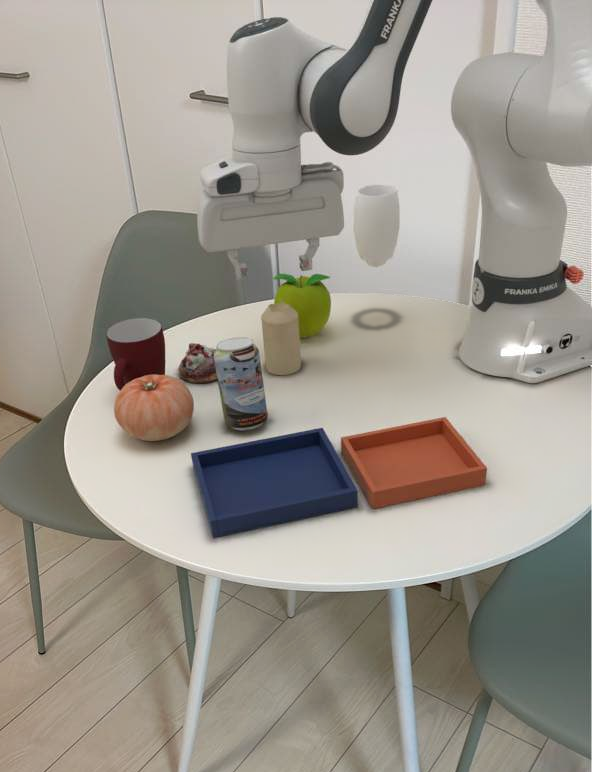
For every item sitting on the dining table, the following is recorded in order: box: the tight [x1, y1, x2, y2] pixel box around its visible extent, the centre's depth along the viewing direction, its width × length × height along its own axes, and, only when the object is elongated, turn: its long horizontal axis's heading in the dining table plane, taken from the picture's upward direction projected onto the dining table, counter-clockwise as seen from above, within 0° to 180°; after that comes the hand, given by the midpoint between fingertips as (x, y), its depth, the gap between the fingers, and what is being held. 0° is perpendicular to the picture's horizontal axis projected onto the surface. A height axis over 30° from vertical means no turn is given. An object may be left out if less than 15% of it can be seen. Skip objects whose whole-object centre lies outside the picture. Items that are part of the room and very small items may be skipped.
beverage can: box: [214, 336, 269, 431], centre depth 102 cm, size 6×7×12 cm
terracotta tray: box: [340, 416, 488, 510], centre depth 94 cm, size 14×12×2 cm
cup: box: [353, 183, 401, 268], centre depth 122 cm, size 7×7×21 cm
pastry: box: [177, 342, 218, 384], centre depth 116 cm, size 8×8×5 cm
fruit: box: [272, 273, 332, 339], centre depth 122 cm, size 9×9×10 cm
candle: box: [260, 302, 302, 376], centre depth 114 cm, size 6×6×10 cm
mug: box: [105, 317, 166, 392], centre depth 110 cm, size 10×8×10 cm
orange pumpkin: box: [113, 374, 195, 442], centre depth 103 cm, size 11×11×8 cm
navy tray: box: [190, 427, 359, 539], centre depth 93 cm, size 18×15×2 cm
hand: (274, 273), depth 108 cm, fingers open, 8 cm apart
